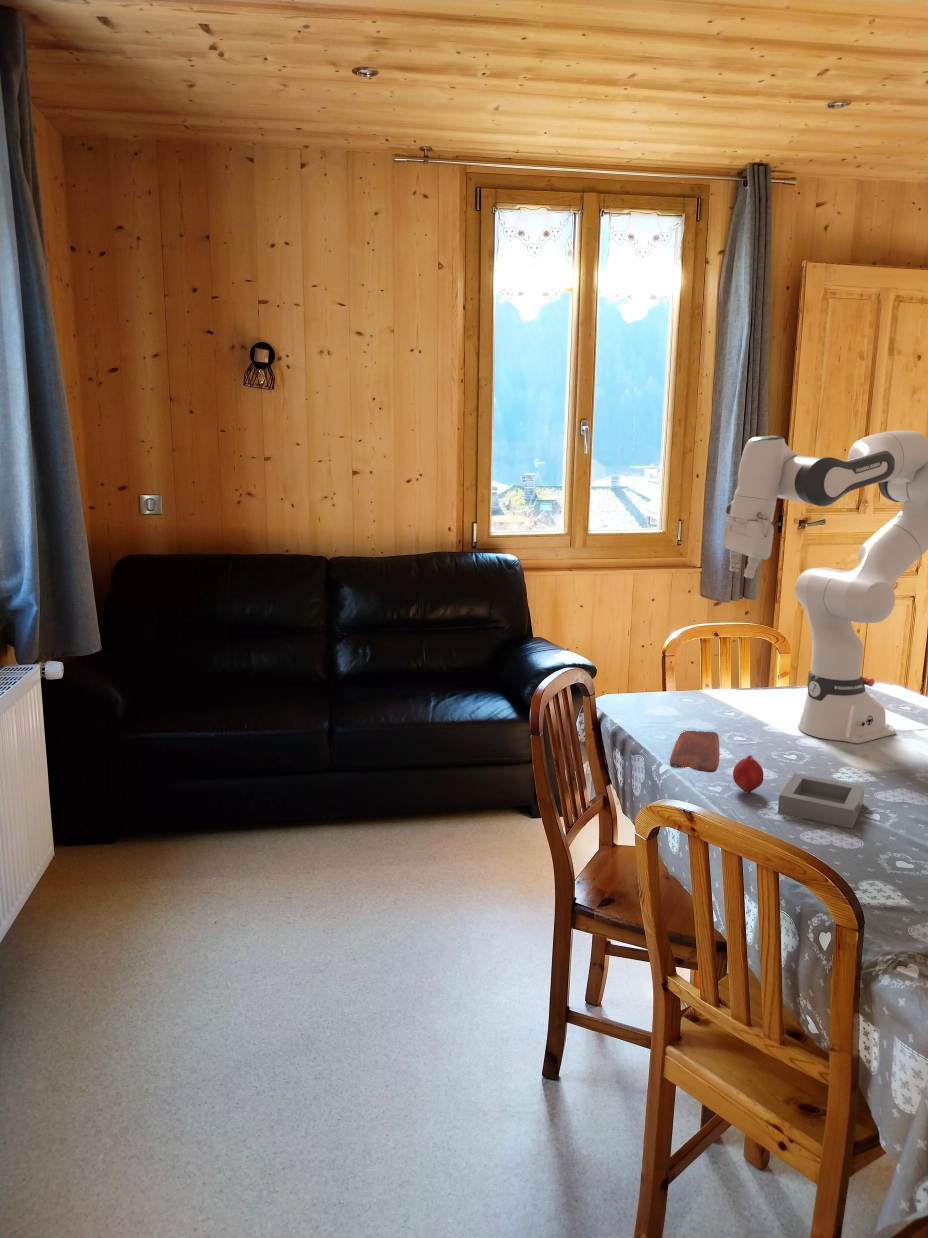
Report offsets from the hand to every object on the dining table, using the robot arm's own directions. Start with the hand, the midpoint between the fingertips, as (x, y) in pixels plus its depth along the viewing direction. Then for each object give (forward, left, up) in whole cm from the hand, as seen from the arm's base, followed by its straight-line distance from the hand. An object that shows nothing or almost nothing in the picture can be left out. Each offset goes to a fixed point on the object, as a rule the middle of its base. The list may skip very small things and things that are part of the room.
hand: (741, 574), depth 193 cm
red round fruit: (+13, +23, -40) cm, 48 cm away
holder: (+4, +34, -40) cm, 53 cm away
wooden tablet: (+8, -1, -41) cm, 41 cm away
